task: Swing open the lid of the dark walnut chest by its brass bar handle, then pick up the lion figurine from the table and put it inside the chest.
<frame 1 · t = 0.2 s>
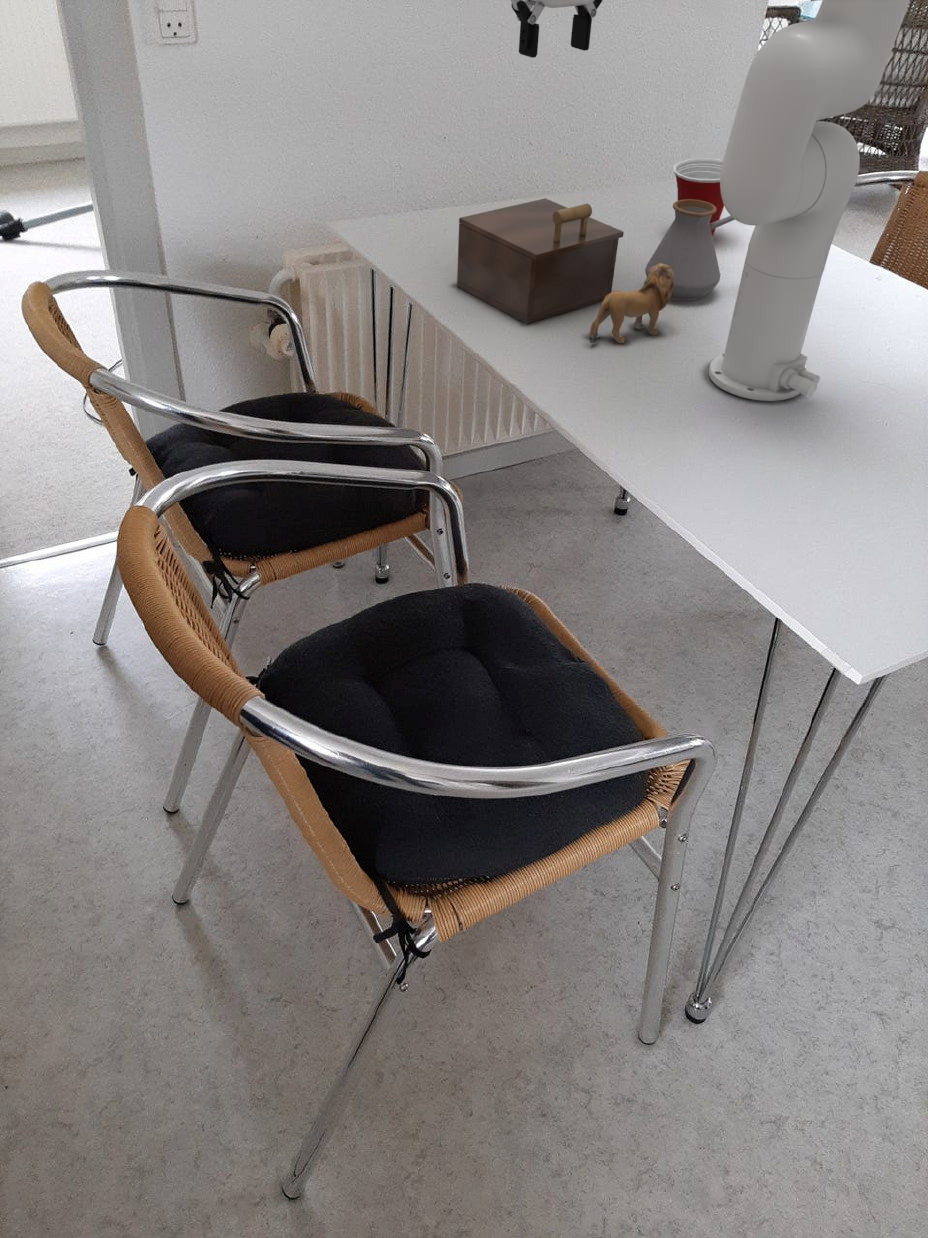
hand: (554, 51, 140), 31 cm above the table, tool pointing down, fingers open, 9 cm apart
coffee pot: (709, 291, 157), on the table
plastic cup: (692, 239, 174), on the table
chest: (533, 292, 154), on the table
lid: (542, 212, 146), point 12 cm above the table, hinge at 0.0°
lion figurine: (628, 334, 144), on the table
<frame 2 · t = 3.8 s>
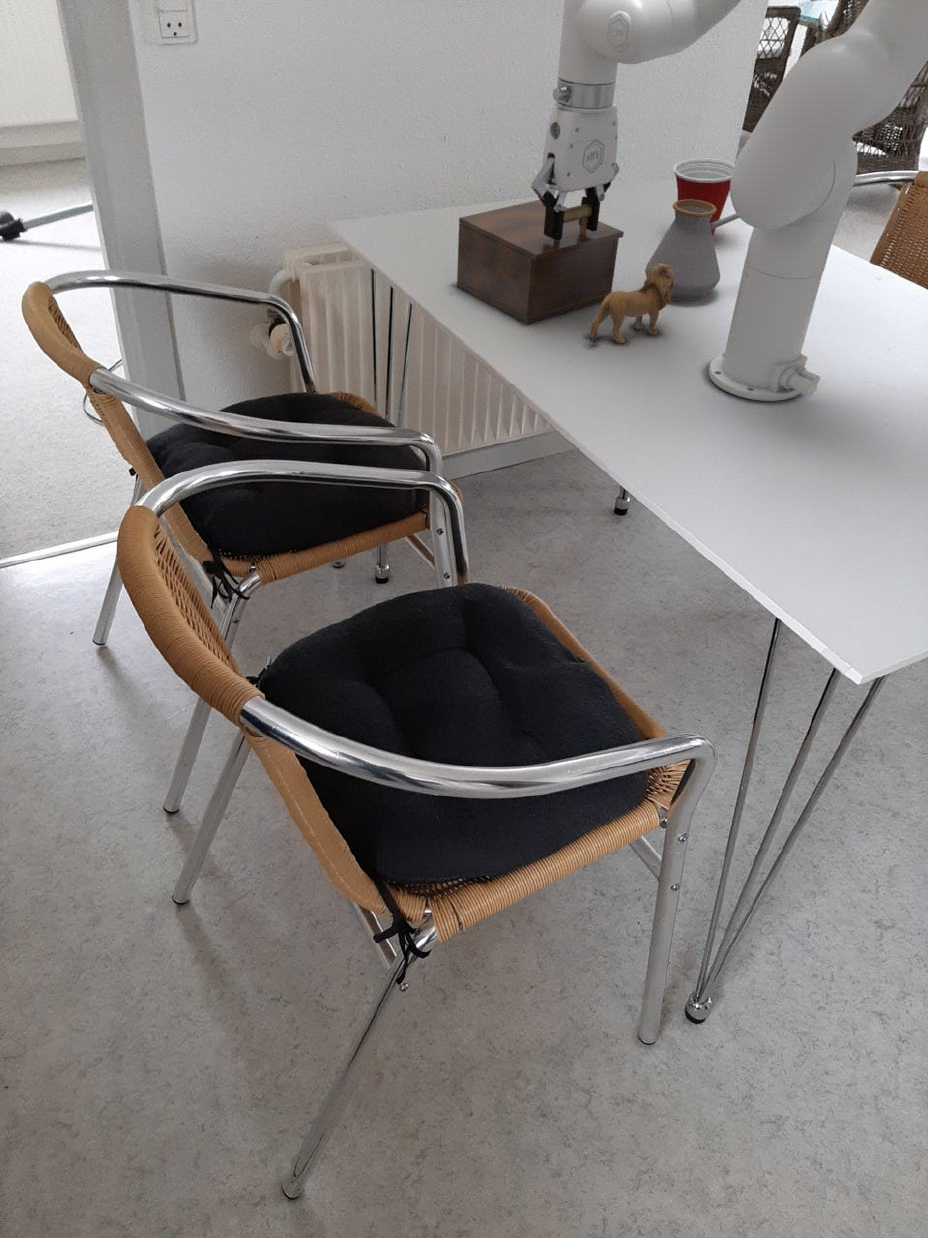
hand: (570, 231, 143), 11 cm above the table, tool pointing down, fingers closed on lid, 6 cm apart
lid: (542, 212, 146), point 12 cm above the table, hinge at 0.0°, touching gripper
everything else where it was.
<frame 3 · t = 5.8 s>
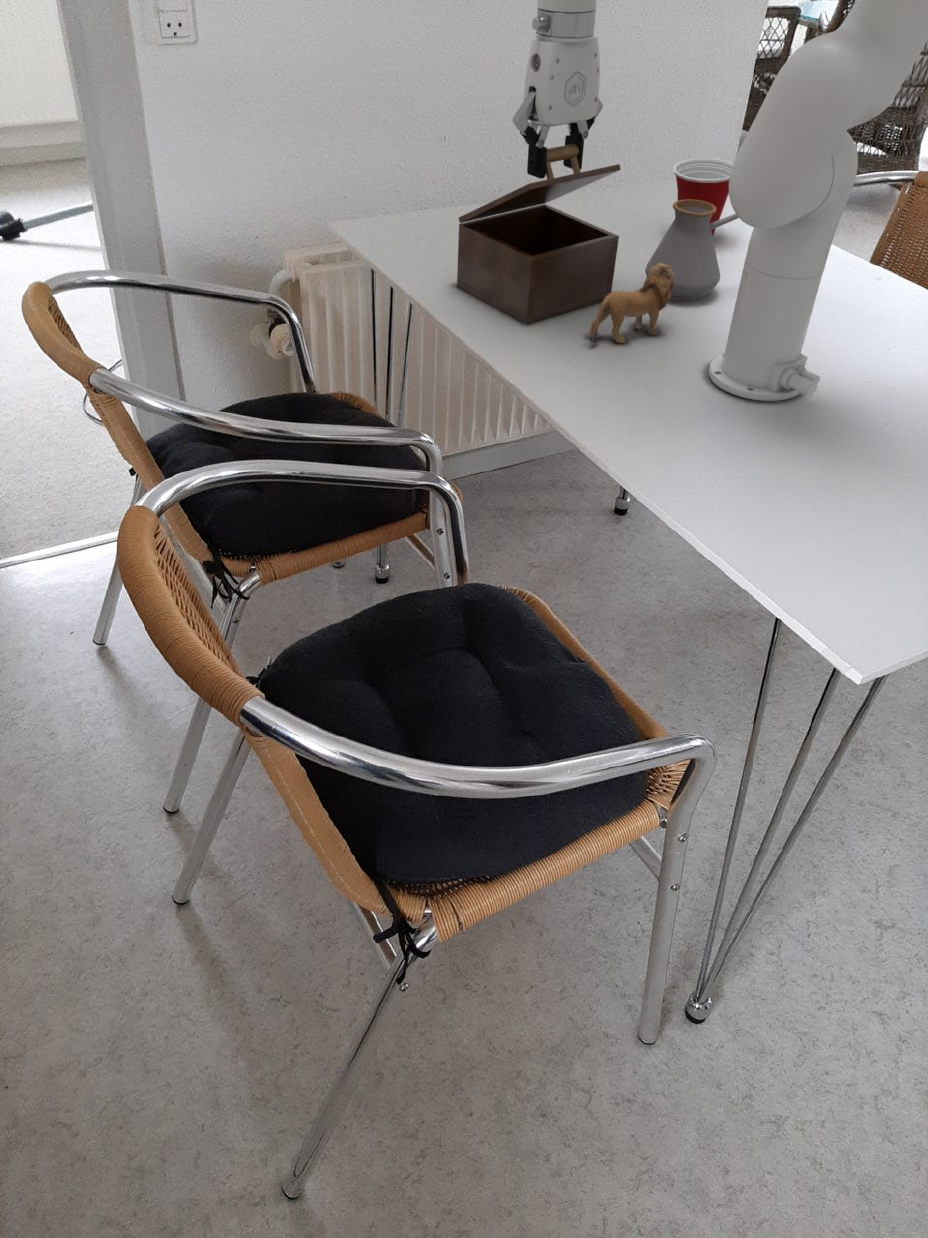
hand: (554, 170, 141), 18 cm above the table, tool pointing down, fingers closed on lid, 6 cm apart
lid: (534, 178, 144), point 16 cm above the table, hinge at 30.5°, touching gripper
everything else where it was.
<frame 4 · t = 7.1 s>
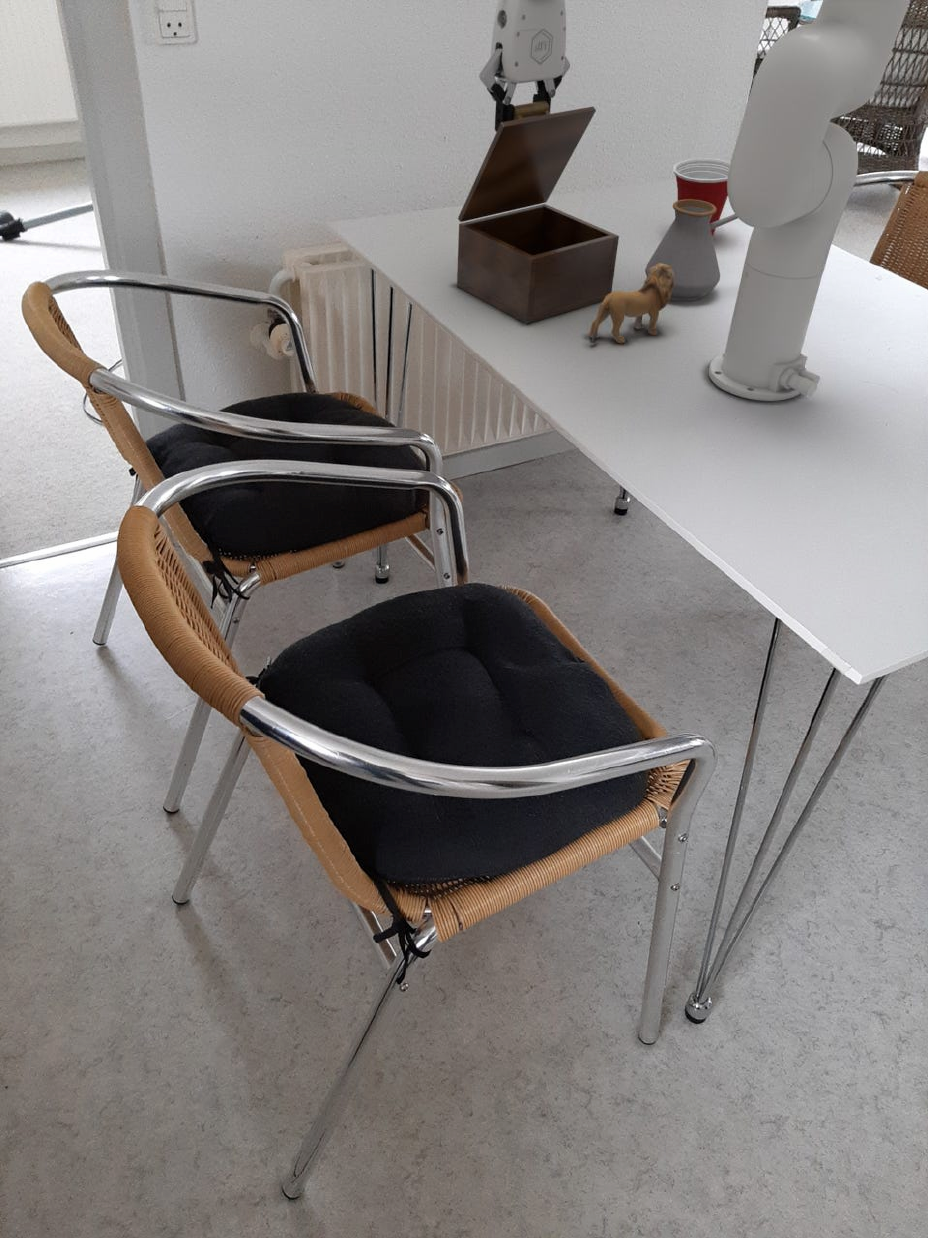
hand: (521, 128, 142), 22 cm above the table, tool pointing down, fingers closed on lid, 6 cm apart
lid: (517, 154, 145), point 19 cm above the table, hinge at 60.3°, touching gripper
everything else where it was.
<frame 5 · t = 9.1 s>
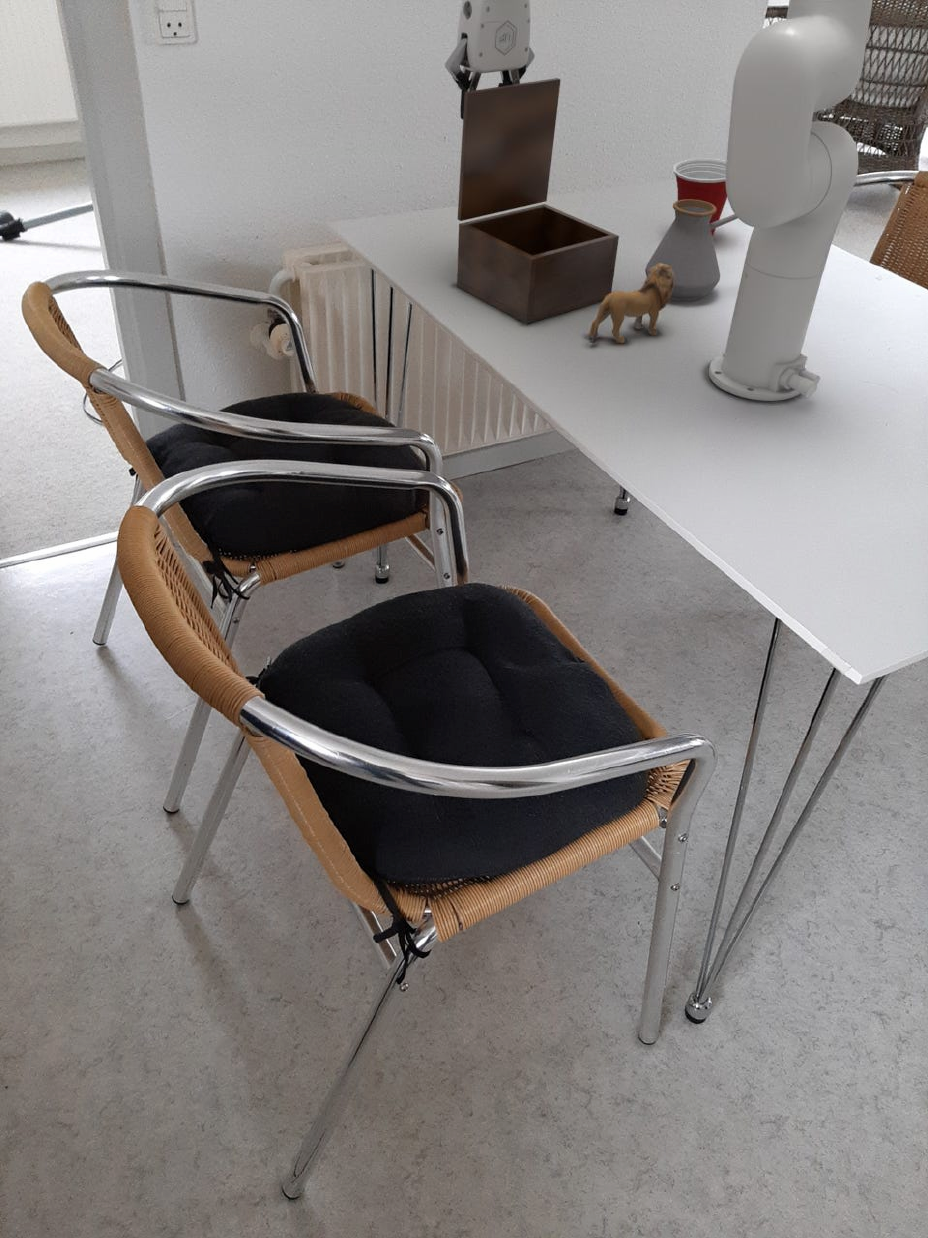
hand: (486, 116, 147), 22 cm above the table, tool pointing down, fingers closed on lid, 6 cm apart
lid: (499, 145, 147), point 19 cm above the table, hinge at 87.7°, touching gripper
everything else where it was.
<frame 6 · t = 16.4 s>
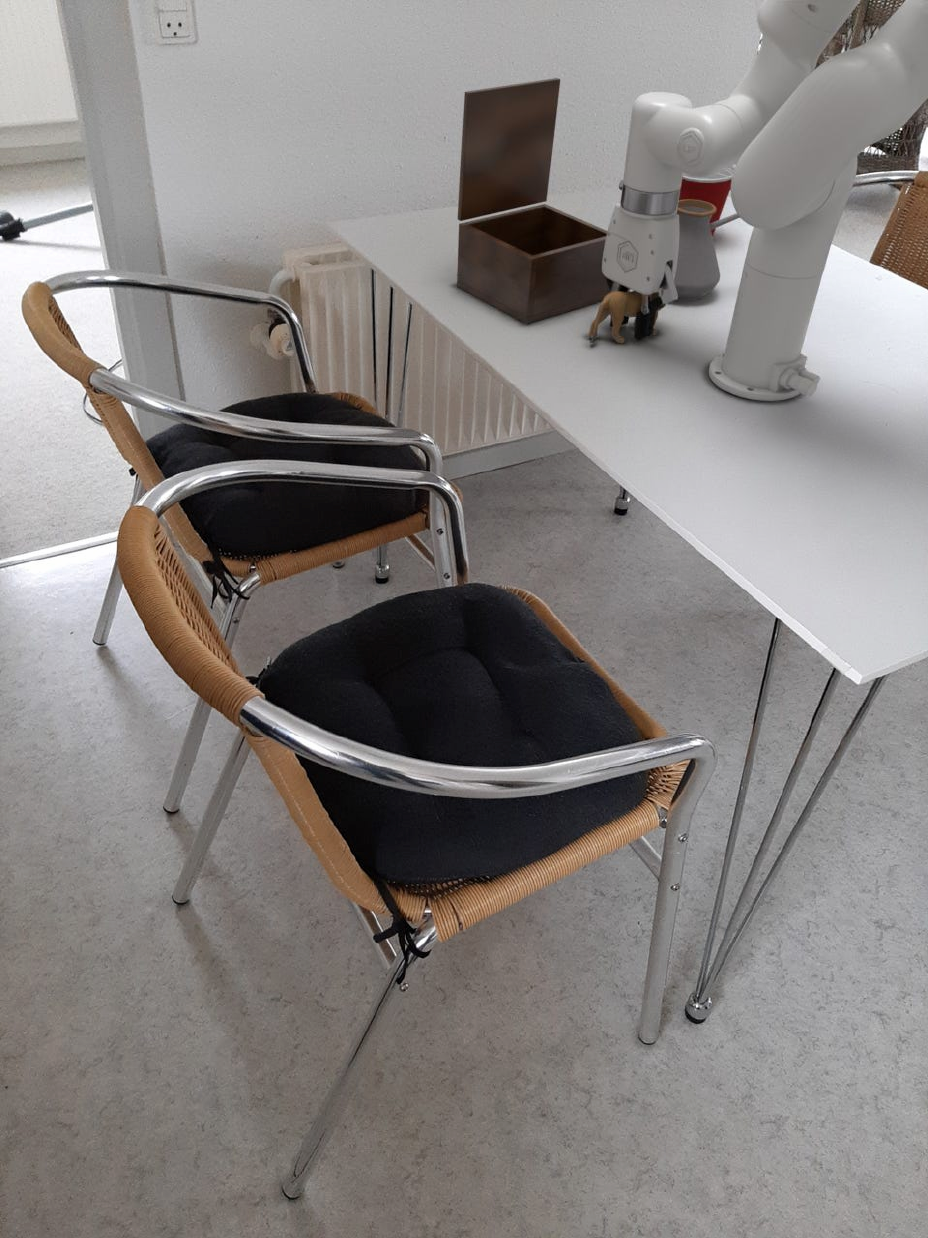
hand: (630, 329, 143), 1 cm above the table, tool pointing down, fingers closed on lion figurine, 4 cm apart
lid: (499, 145, 147), point 19 cm above the table, hinge at 87.9°
lion figurine: (627, 334, 144), on the table, touching gripper
everything else where it was.
when the fingers open (7 cm above the table, at t = 23.2 s): lion figurine stays where it is, resting on chest.
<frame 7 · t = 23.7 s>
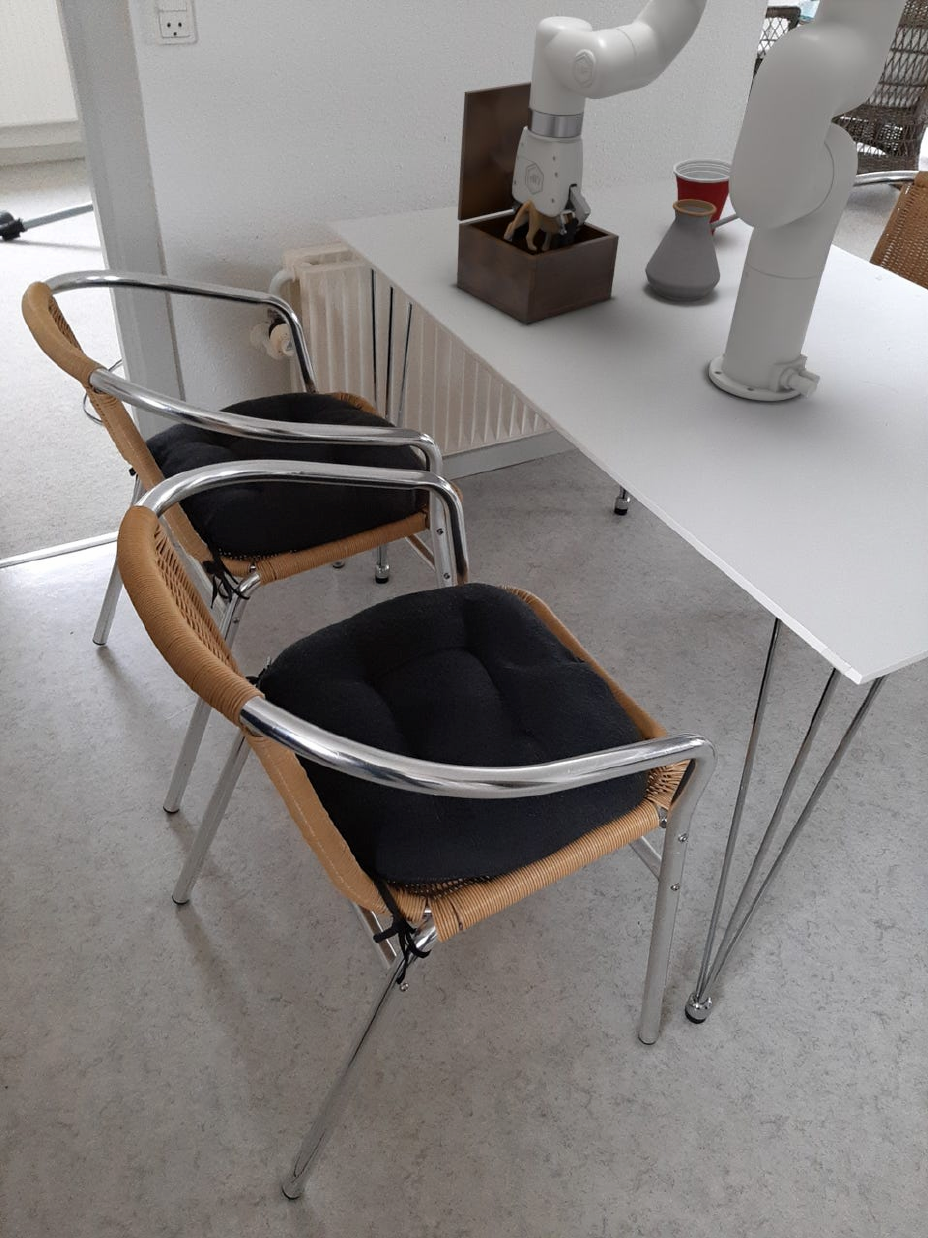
hand: (541, 247, 148), 7 cm above the table, tool pointing down, fingers open, 8 cm apart
lion figurine: (536, 251, 149), point 7 cm above the table, touching chest
everything else where it was.
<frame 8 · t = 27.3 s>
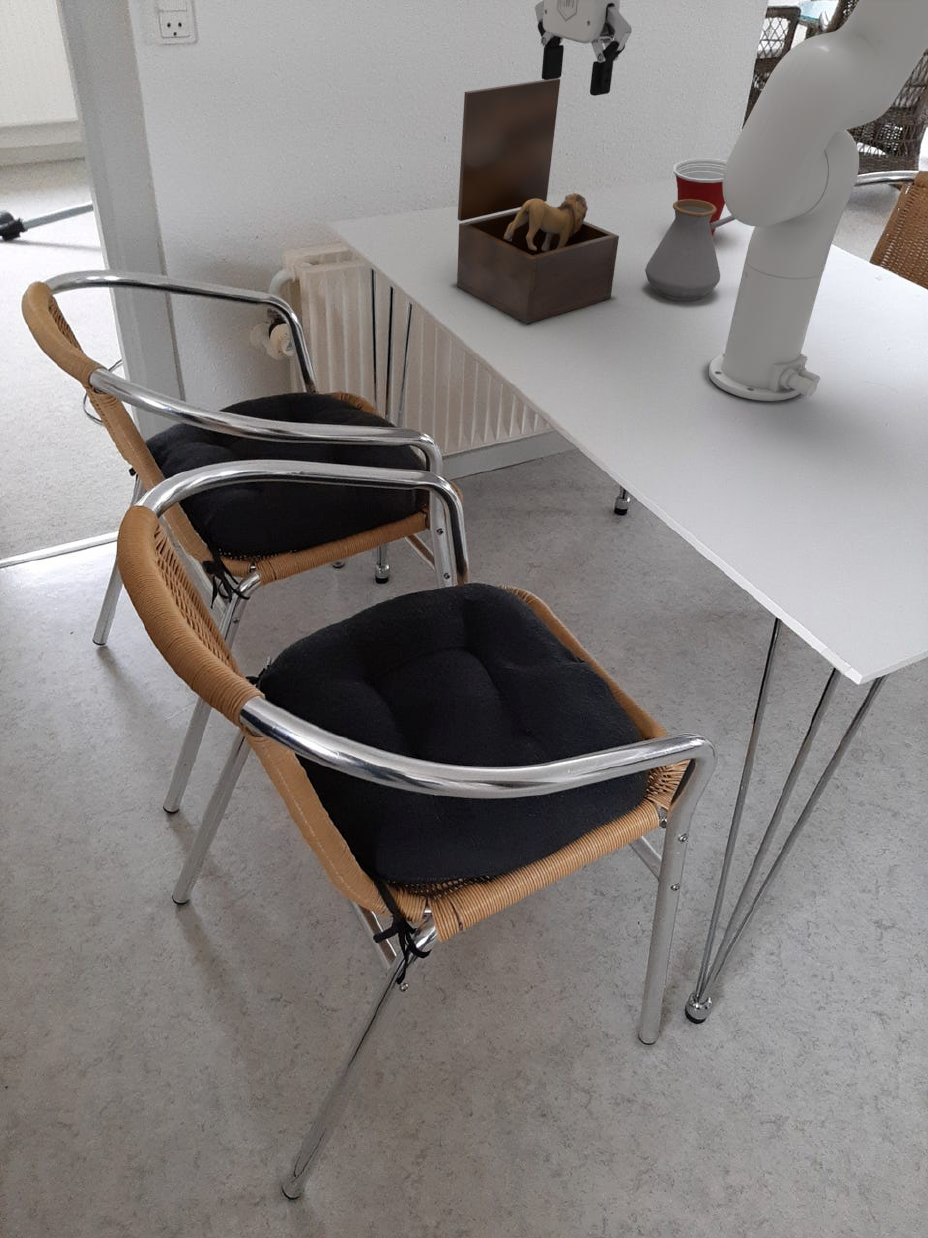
hand: (574, 85, 137), 28 cm above the table, tool pointing down, fingers open, 9 cm apart
nothing on the table moved.
at the end: lid at +88° (first picture: +0°); lion figurine inside the target area in the chest (1.1 cm from its centre), point 6.7 cm above the chest's base; the gripper is holding nothing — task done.
